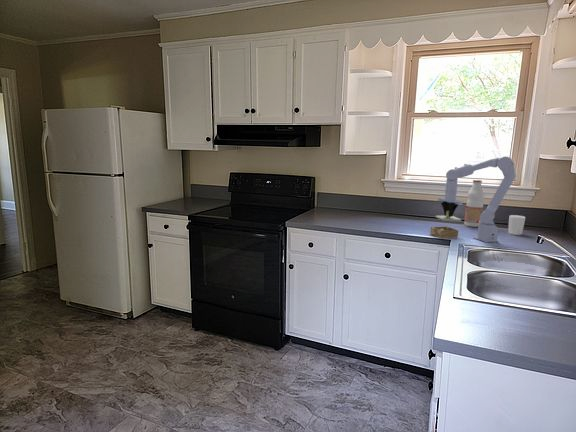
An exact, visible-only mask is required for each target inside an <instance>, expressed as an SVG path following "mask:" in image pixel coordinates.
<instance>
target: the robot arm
mask: <svg viewBox="0 0 576 432" xmlns="http://www.w3.org/2000/svg"><path fill="white" fill-rule="evenodd" d="M489 167H491V168H498V169H499V170H500V171H501V172H502V176H503V177H504V178H503V179H502V181H500V184H499V185H498V187H497V190H496V191H495V193H494V194H493V196H492V198H491V200H490V201H489V203H488V205H487V207H486V208H485V209H483V211H482V214H481V215H480V220H481V221H479V226H478V227H477V235H476V236H473V238H474V239H475V240H476V239H477V240H479V241H481V242H484V243H495V242H499V240H498V235H499V228H498V226H496V225H495V222H494V219H495V215H496V211H497V210H498V208H499V206H500V204H501V203H502V201H503V199H504V198H505V196H506V194H507V192H508V191H509V189H510V187H511V185H512V184H513V182H514V180H515V178H516V170H515V163H514V161H513V160H512V158H511V157H509V156H507V155H506V156H501V157H495V158H490V159H487V160H485V161H482V162H479V163H477V164H473V165H472V164H470V163H464V164H463V165H461V166H459V167H457V166H456V167H454V168H452V169H449V170H448V171H447V172H446V174H445V178H446V183H445V191H444V192H445V193H444V197H438V199H437V201H438V202H441V203H440V205H441V207H442V209H443V213H444V215H443V216H446V211H449V217H452V216H454V214H455V213H454V212H455V211H456V210H457V208H458V207H459V206H462V205H463V202H464V201H462V200H458V199H457V194H458V193H457V189H458V179H461V178H465V177H468V176H471V175H473V174H474V172H475V171H479V170H482V169H486V168H489Z"/></svg>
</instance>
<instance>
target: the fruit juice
mask: <svg viewBox="0 0 576 432" xmlns="http://www.w3.org/2000/svg"><path fill="white" fill-rule="evenodd" d="M482 183H483V181H482V179H472V186H471V187H470V190H469V191H468V192H467V200H466V204H465V211H464V212H465V215H464V223H463V224H464V225H465V226H467V227H473V228H475V227H476V228H478V226H479V221H481V220H480V215H481V214H482V212H483V211H484V197H485V192H484V190H483V187H482Z"/></svg>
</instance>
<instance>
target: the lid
mask: <svg viewBox="0 0 576 432" xmlns="http://www.w3.org/2000/svg"><path fill="white" fill-rule="evenodd" d="M435 218H437V219H439V220H441V221H444V222H445V221H446V222H447V221H448V222H449V221H450V222H451V221H452V222H453V221H454V222H462V219H461V218H458V217H456V216H454V215H453V216H452V217H449V211H446V216H445V215H435Z"/></svg>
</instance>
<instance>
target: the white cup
mask: <svg viewBox="0 0 576 432" xmlns="http://www.w3.org/2000/svg"><path fill="white" fill-rule="evenodd" d="M508 218H509V219H508V234H509V235H514V236H522V235H523V231H524V226H525V221H526V216H524V215H517V214H510V215H509V217H508Z"/></svg>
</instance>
